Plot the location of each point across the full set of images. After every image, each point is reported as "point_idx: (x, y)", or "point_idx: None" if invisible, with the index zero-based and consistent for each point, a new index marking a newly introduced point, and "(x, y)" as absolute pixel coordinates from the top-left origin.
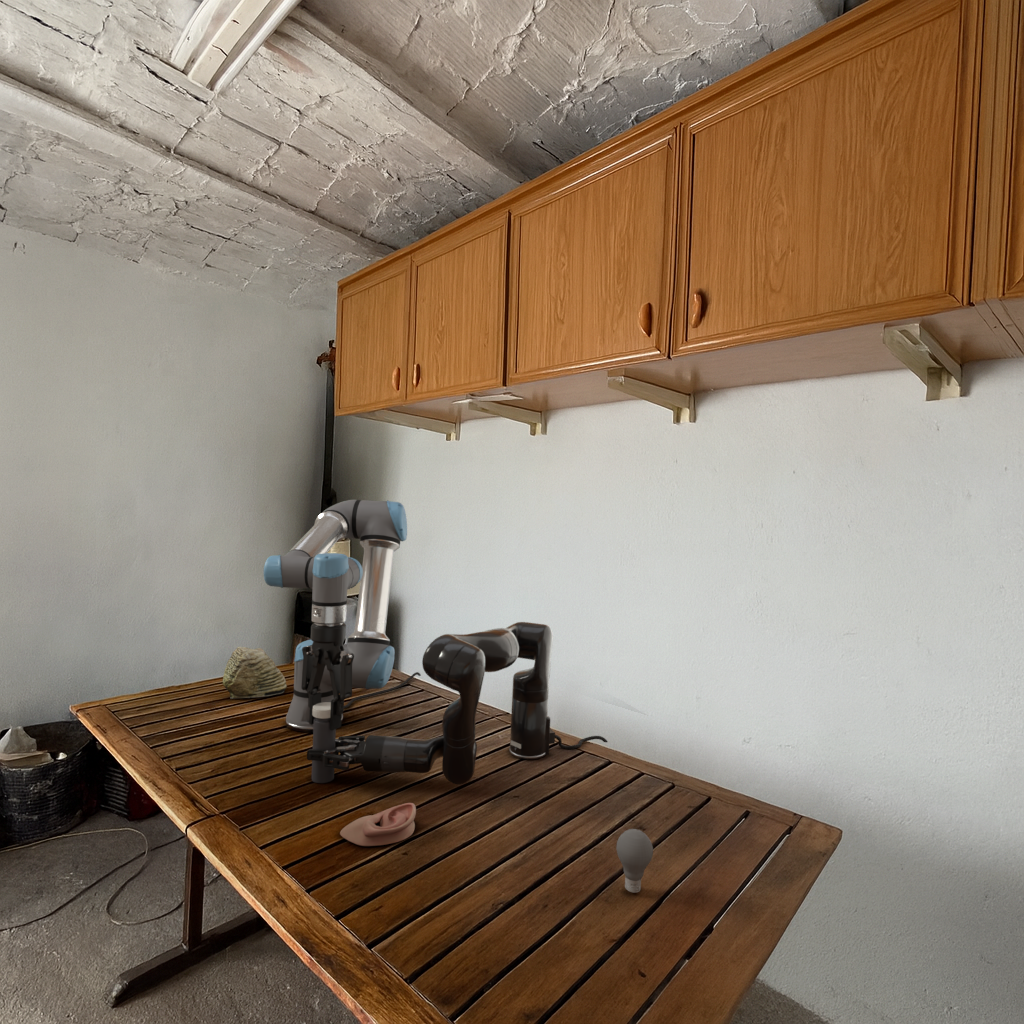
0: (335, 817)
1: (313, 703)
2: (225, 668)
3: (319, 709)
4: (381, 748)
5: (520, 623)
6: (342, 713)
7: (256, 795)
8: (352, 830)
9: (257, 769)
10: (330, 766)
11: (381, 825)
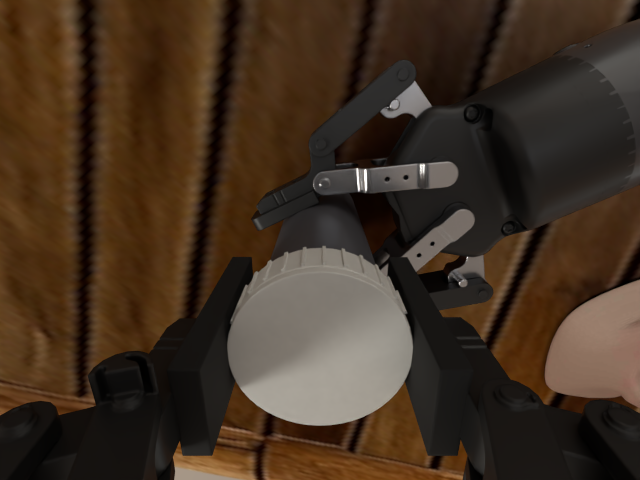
0: (493, 340)
1: (229, 393)
2: None
3: (333, 415)
4: (612, 194)
5: None
6: (460, 321)
7: None
8: (587, 391)
9: (122, 269)
10: None
11: None
